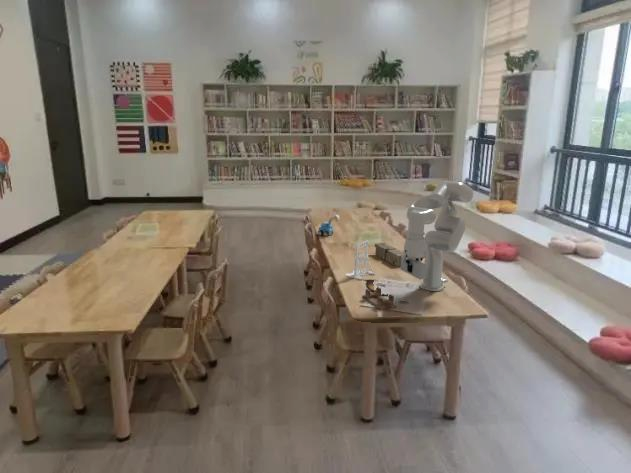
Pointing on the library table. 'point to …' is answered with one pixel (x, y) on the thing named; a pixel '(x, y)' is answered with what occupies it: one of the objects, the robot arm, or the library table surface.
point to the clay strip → (415, 268)
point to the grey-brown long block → (389, 253)
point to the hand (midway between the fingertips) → (413, 270)
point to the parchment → (370, 284)
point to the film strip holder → (356, 272)
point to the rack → (379, 299)
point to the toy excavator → (327, 227)
